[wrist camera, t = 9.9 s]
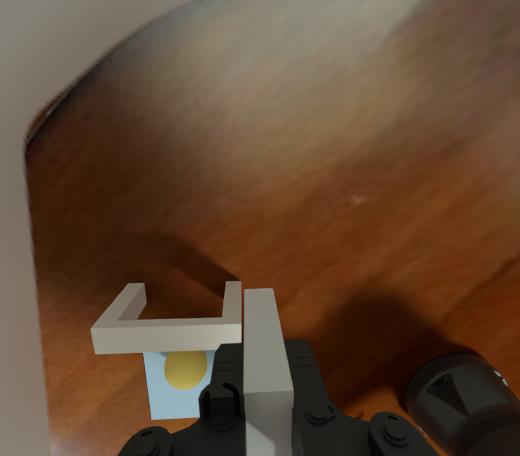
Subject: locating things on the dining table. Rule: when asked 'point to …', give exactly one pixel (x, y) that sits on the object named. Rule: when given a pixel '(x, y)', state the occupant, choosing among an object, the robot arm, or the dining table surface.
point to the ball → (185, 368)
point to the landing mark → (172, 389)
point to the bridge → (164, 326)
